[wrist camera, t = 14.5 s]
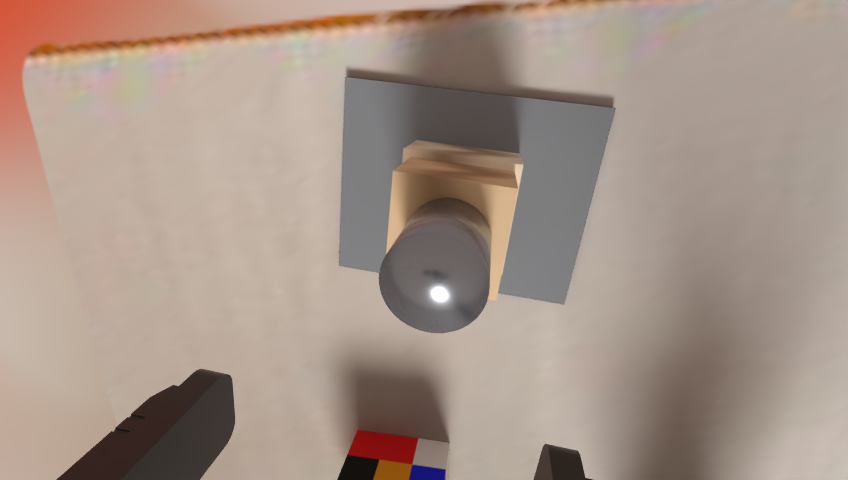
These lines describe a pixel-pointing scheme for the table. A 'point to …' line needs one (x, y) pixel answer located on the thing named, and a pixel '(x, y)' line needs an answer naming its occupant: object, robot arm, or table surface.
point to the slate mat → (488, 129)
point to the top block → (464, 182)
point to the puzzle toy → (395, 458)
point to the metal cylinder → (439, 267)
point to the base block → (466, 158)
